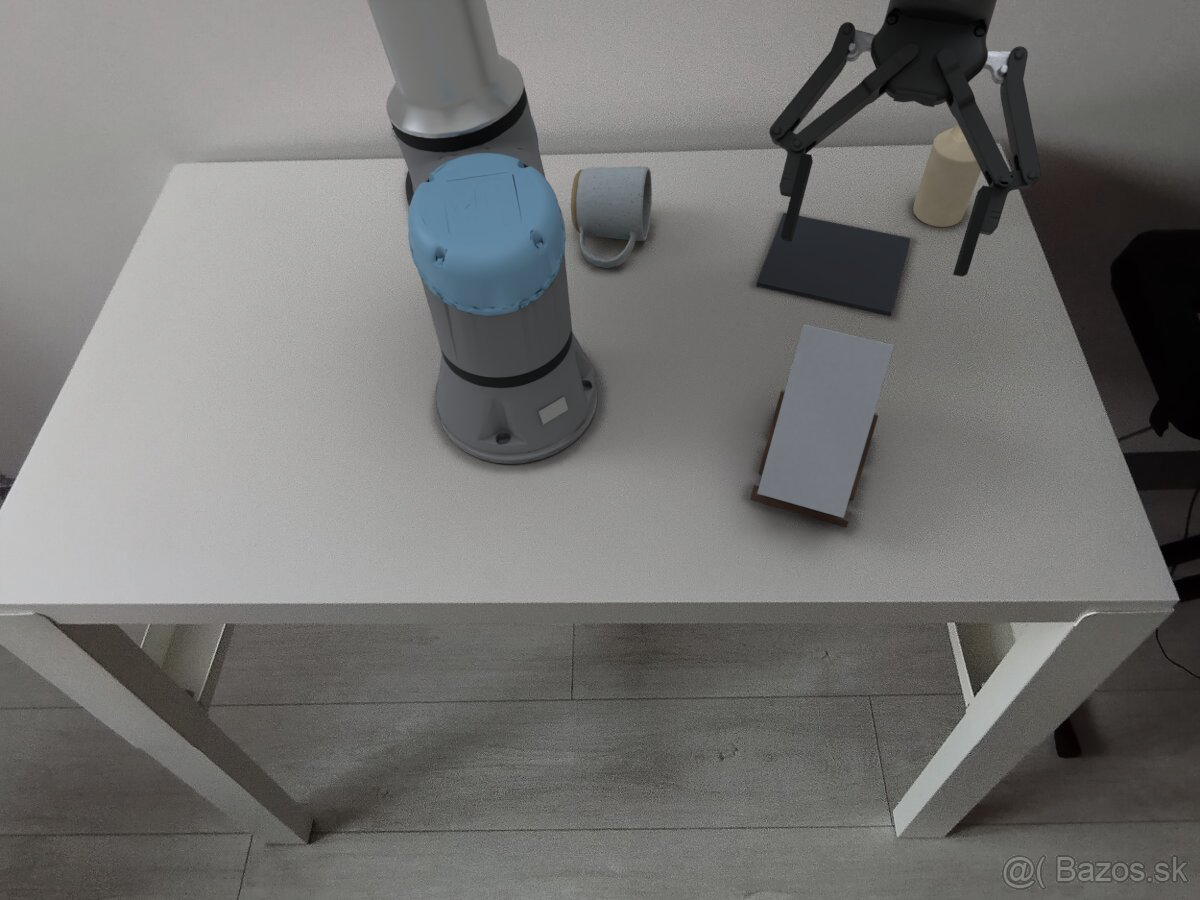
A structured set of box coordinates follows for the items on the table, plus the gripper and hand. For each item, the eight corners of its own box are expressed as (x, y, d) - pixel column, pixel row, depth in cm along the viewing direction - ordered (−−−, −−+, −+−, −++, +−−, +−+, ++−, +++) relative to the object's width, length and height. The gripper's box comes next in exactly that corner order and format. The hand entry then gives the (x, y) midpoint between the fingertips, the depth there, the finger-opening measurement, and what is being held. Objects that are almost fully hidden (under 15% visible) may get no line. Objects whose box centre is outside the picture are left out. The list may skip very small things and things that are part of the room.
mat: (756, 285, 89) (756, 282, 89) (783, 216, 96) (783, 212, 95) (890, 315, 86) (891, 312, 85) (909, 241, 92) (910, 237, 92)
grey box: (790, 399, 80) (816, 285, 68) (864, 418, 78) (904, 304, 67) (750, 523, 72) (772, 417, 60) (832, 547, 70) (871, 443, 59)
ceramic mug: (582, 205, 98) (578, 148, 92) (652, 210, 97) (653, 152, 91) (567, 269, 92) (561, 212, 86) (641, 274, 91) (641, 217, 85)
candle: (968, 227, 93) (999, 148, 85) (917, 228, 93) (943, 149, 85) (957, 196, 96) (986, 116, 88) (908, 196, 97) (932, 117, 89)
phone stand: (775, 424, 80) (784, 378, 74) (864, 448, 78) (881, 402, 72) (748, 506, 74) (757, 462, 69) (844, 533, 72) (860, 491, 67)
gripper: (1116, 13, 63) (1027, 292, 67) (788, -29, 69) (724, 230, 73) (1150, -29, 56) (1048, 287, 60) (781, -71, 62) (711, 219, 66)
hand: (870, 257), depth 67 cm, fingers open, 13 cm apart
